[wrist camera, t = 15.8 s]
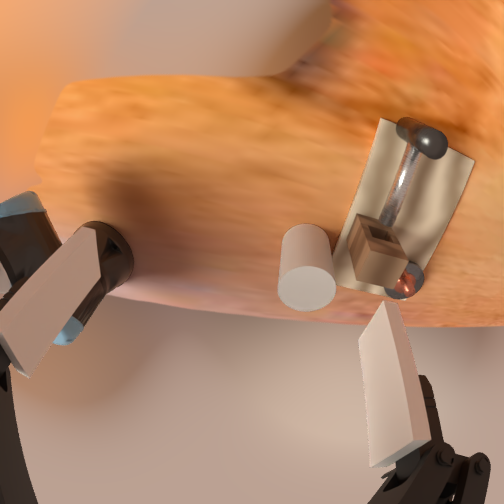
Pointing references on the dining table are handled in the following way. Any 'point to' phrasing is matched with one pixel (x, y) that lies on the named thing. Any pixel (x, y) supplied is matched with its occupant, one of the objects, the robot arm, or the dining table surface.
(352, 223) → the block
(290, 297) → the beige solid cylinder
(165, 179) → the dining table surface
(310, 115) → the dining table surface
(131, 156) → the dining table surface
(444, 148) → the t-handle
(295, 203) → the dining table surface
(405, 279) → the handwheel
